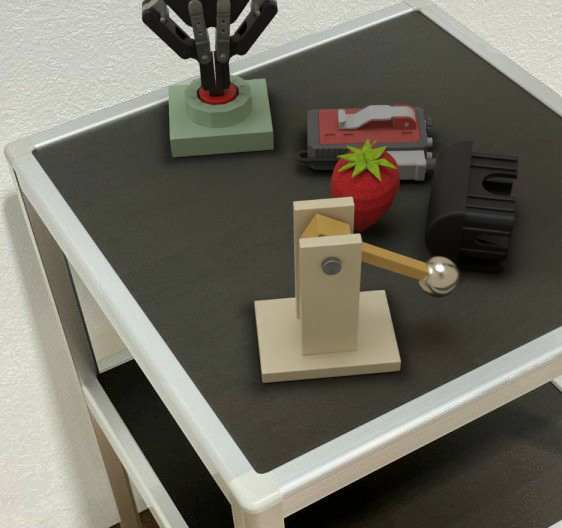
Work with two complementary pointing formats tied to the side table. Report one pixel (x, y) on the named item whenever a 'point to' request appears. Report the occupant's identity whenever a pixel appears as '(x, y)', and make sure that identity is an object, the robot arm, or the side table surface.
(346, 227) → the lever
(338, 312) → the bracket
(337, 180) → the strawberry
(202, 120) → the button box
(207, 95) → the button
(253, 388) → the side table surface
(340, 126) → the walkie-talkie
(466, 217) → the end cap
